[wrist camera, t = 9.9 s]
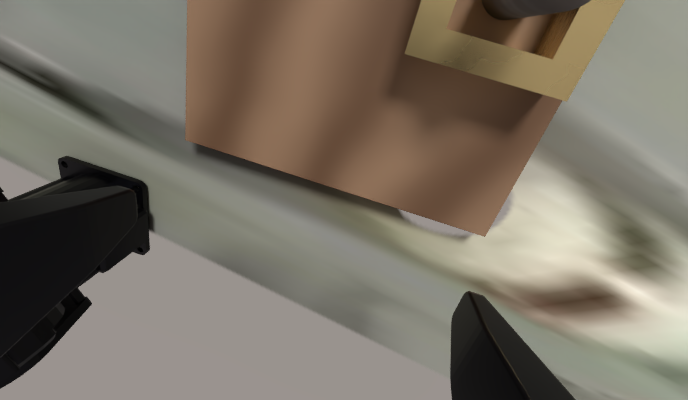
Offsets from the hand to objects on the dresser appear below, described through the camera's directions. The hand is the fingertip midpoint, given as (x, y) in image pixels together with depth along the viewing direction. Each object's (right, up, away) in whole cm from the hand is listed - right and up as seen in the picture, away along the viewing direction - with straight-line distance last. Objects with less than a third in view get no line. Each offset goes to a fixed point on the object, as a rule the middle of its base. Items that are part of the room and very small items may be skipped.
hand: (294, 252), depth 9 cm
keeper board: (+3, +9, +8) cm, 12 cm away
